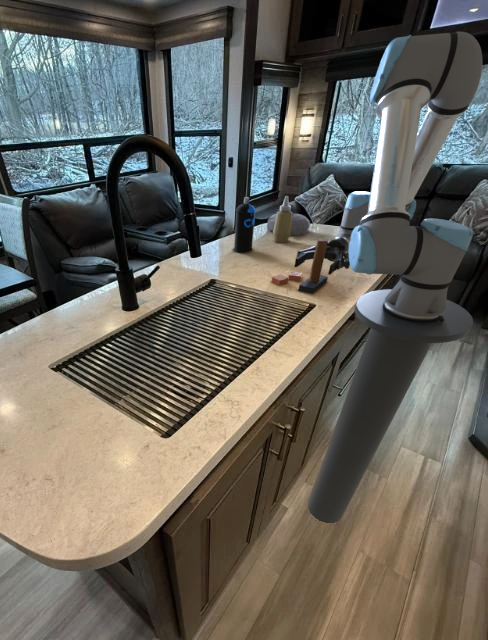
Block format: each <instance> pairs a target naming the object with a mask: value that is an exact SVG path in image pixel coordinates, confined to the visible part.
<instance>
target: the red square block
mask: <svg viewBox="0 0 488 640" xmlns="http://www.w3.org/2000/svg"><path fill="white" fill-rule="evenodd" d="M288 278H289V277H287V276H285V275H282V274H277V275H274V276H272V277H271V283H272V284H275V285H277V286H282V285H286V284H288V282H289V280H288Z"/></svg>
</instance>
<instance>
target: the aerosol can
mask: <svg viewBox="0 0 488 640" xmlns="http://www.w3.org/2000/svg"><path fill="white" fill-rule="evenodd" d="M256 211H257V209H256V207H255V206H254V205H252V204H251V203H250V197H248V196H244V197H243V203H242V204H240V205H238V206H237V207H236V208H235V227H234V245H233V246H234V248H233V251H234V252H235V253H239V254H247V253H250V252H252V251H253V243H254V240H253V239H254V230H255V229H254V228H255V219H256Z"/></svg>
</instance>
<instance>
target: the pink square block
mask: <svg viewBox="0 0 488 640" xmlns="http://www.w3.org/2000/svg"><path fill="white" fill-rule="evenodd" d="M302 276H303V272H301V271H294V270H293V271H290V272H289V274H288V277H287V278H288V281H292V282H301V279H302Z"/></svg>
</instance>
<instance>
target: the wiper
mask: <svg viewBox="0 0 488 640" xmlns="http://www.w3.org/2000/svg"><path fill="white" fill-rule="evenodd" d="M328 242H329V240H328V239H327V238H318V239H316V244H315V245H316V249H315V254H314V259H312V264H311V269H310V273H309V277H307V278H306V279H305V280H304V281H303V282H302V283H300V284H299V285H298V292H302V293H306V294H309V295H313V294H315V293H316V292H317V291H318V290H319V289H321V288H322V287H323V286H324V285H325V284H326V283H327V282H328V278H329V276H326V275H322V269H323V265H324V261H325V259H324V256H325V252H326V247H327V243H328Z"/></svg>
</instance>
